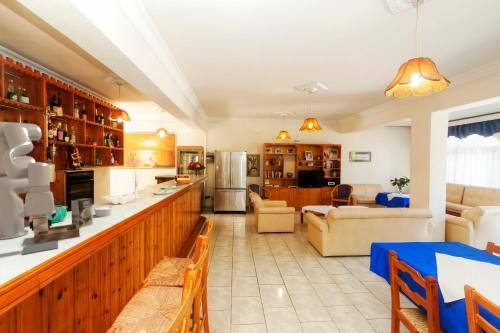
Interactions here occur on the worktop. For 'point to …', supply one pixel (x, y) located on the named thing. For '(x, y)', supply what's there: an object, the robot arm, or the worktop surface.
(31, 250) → the mat
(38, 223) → the maple block
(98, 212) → the ramekin
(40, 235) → the crate
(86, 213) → the coffee box
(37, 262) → the worktop surface
